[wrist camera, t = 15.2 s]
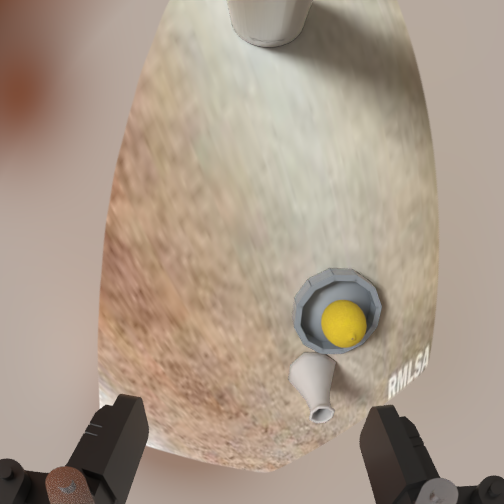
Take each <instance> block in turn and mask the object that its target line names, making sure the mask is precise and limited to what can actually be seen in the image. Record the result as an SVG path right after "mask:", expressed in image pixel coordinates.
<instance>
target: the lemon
mask: <svg viewBox="0 0 504 504" xmlns="http://www.w3.org/2000/svg"><path fill="white" fill-rule="evenodd" d="M321 326H322V330H323V333H324V335H325V336H326V338H327V339H328V340H329V341H330V342H331V343H332V344H334V345H335V346H338V347H341V348H348V347H352V346H355V345H356V344H358V343H359V342H360V341H361V340H362V339H363V337H364V335H365V333H366V327H367V324H366V318H365V315H364V313H363V311H362V310H361V308H360V307H359V306H358V305H357V304H355V303H353V302H352V301H349V300H337V301H334V302H332V303H330V304H329V305H328V306H327V307H326V308H325V310H324V312H323V314H322V318H321Z"/></svg>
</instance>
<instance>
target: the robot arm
mask: <svg viewBox="0 0 504 504" xmlns="http://www.w3.org/2000/svg"><path fill="white" fill-rule="evenodd" d="M312 1H313V0H227V4H228V9H229V14H230V18H231V23H232V26H233V28H234V30H235V32H236V33H237V34H238V35H239V36H240V37H241V38H242V39H243V40H245V41H247V42H249V43H251V44H253V45H257V46H262V47H277V46H282V45H284V44H287V43H289V42H291V41H292V40H294V39H295V38H296V37H297V36H298V35H299V34H300V32H301V31H302V29H303V26H304V23H305V20H306V17H307V15H308V12H309V9H310V6H311V4H312ZM148 434H149V426H148V421H147V417H146V413H145V409H144V405H143V401H142V398H141V397H136V396H130V395H125V394H120V395H119V396H118V397H117V399H116V401H115V403H114V404H113V406H110V405H105V406H103V407H102V408H101V409H99V410H98V411H97V412H96V413H95V415H94V416H93V418H92V420H91V421H90V425H88V427H87V428H86V430H85V434H83V436H82V437H81V439H80V442H79V443H78V445H77V447H76V448H75V450H74V452H73V454H72V456H71V457H70V459H69V461H68V463H67V464H66V465H65V466H61V467H57V468H55V469H53V470H52V471H51V472H50V473H40V472H33V471H26V470H24V469H23V468H22V466H21V465H20V464H19V463H18V462H17V461H15V460H12V459H1V460H0V504H125V502H126V500H127V497H128V494H129V491H130V488H131V485H132V482H133V479H134V476H135V474H136V471H137V468H138V465H139V462H140V459H141V457H142V454H143V451H144V448H145V445H146V443H147V440H148ZM360 449H361V453H362V456H363V459H364V463H365V466H366V469H367V473H368V477H369V480H370V483H371V487H372V491H373V494H374V498H375V501H376V504H504V479H503V478H502V477H499V476H489V477H486V478H485V479H484V480H483V481H482V482H481V483H480V484H479V485H478V486H463V487H456V486H455V485H454V484H453V483H452V482H451V481H449V480H447V479H444V478H440V476H439V474H438V472H437V470H436V468H435V466H434V464H433V462H432V460H431V458H430V455H429V453H428V451H427V449H426V447H425V446H424V443H423V441H422V439H421V437H420V435H419V433H418V431H417V429H416V427H415V425H414V424H413V423H412V422H411V421H410V420H408V419H407V418H406V417H405V416H404V417H399V415H398V413H397V411H396V409H395V407H394V406H393V405H384V406H375V407H372V408H371V409H370V411H369V414H368V417H367V419H366V422H365V424H364V427H363V429H362V432H361V435H360Z"/></svg>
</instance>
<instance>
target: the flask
mask: <svg viewBox="0 0 504 504" xmlns="http://www.w3.org/2000/svg"><path fill="white" fill-rule="evenodd" d="M335 364H336V362H335V361H334V360H332V359H331V358H330V357H328V356H327V355H326V354H322V353H321V354H320V353H303V354H302V355H301V356H300V357H298V358H297V359H296V360H295V361H294V362H293V363H292V364H291V365H290V370H289V376H288V380H289V381H290V383H291V384H292V385H293V386H294V387H295V388H296V389H297V390H298V392H299V393H300V394H301V395H302V397H303V398H304V399H305V400H306V402H307V404H308V406H309V408H310V416H309V420H311V421H313V422H315V423H326V422H327V421H329V420H330V419H331V418H333V415H334V412H335V410H334V409H333V408H332V407H331V404H330V388H331V383H332V378H333V373H334V369H335Z"/></svg>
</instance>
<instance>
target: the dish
mask: <svg viewBox="0 0 504 504" xmlns="http://www.w3.org/2000/svg"><path fill="white" fill-rule="evenodd" d="M337 300H349V301H352V302H353V303H355V304H357V305H358V306H359V307H360V308H361V310H362V311H363V313H364V315H365V318H366V324H367V327H366V333H365V335H364V337H363V339H362V340H361V341H360V342H359V343H358V344H356V345H355V346H352V347H348V348H341V347H338V346H335V345H334V344H332V343H331V342H330V341H329V340H328V339H327V338H326V336H325V335H324V333H323V330H322V326H321V318H322V314H323V312H324V310H325V308H326V307H327V306H328V305H329V304H330V303H332V302H334V301H337ZM381 306H382V305H381V303H380V300H379V297H378V294H377V291H376V289H375V287H374V286H373V285H372V284H371V282H370V281H369V280H368V279H366V278H365V277H363V276H362V275H360V274H359V273H357V272H356V271H355V270H353V269H341V268H330V269H327V270H325V271H323V272H321V273H319V274H317V275H314V276H312V277H310V278H309V279H307V281H306V282H305V284H304V285H303V286H302V288H301V289H300V290H299V292H298V293H297V294H296V296H295V298H294V305H293V315H292V319H293V324H294V328H295V330H296V332H297V334H298V335H299V337H300V339H301V341H302V343H303V344H304V345H305V346H307V347H309V348H311V349H313V350H315V351H317V352H318V353H320V354H321V353H322V354H343V353H345V352H347V351H350V350H352V349H354V348H356V347H358V346H360V345H362V343H364V342H365V341H366V340H367V339H368V338H369V336H370V335H371V334H372V333H373V332H374V330H375V329H376V328H377V326H378V322H379V317H380V313H381V308H382V307H381Z"/></svg>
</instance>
